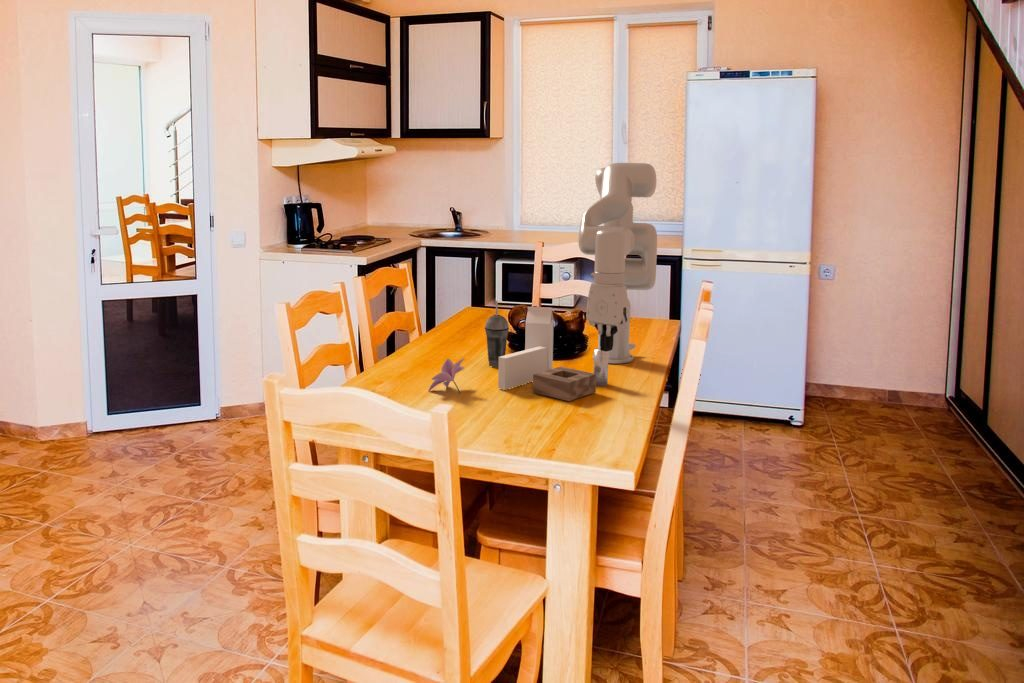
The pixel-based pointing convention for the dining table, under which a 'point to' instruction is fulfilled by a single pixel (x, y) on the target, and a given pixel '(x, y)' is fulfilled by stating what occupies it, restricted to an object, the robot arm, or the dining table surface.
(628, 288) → the robot arm
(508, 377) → the backstop wall
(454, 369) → the lily
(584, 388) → the socket block
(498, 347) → the beverage cup
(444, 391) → the dining table surface
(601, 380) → the steel peg
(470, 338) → the dining table surface
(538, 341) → the milk carton
